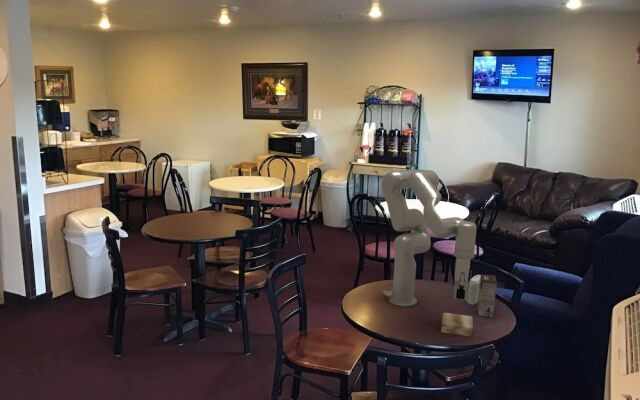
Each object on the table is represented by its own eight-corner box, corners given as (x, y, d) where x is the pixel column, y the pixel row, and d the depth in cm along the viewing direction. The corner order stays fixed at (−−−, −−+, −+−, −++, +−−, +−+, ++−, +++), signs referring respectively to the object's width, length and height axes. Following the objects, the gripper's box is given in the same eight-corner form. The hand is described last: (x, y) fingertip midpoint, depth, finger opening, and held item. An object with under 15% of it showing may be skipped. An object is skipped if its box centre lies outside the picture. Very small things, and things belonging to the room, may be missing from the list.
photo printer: (474, 305, 251) (477, 279, 249) (465, 303, 254) (468, 277, 252) (483, 299, 259) (486, 274, 257) (475, 297, 262) (477, 272, 259)
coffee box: (476, 307, 249) (480, 273, 246) (491, 309, 248) (495, 275, 245) (478, 315, 240) (481, 280, 237) (493, 317, 239) (497, 282, 236)
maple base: (440, 333, 223) (441, 323, 222) (441, 321, 234) (442, 312, 233) (471, 337, 220) (472, 328, 219) (471, 325, 231) (472, 316, 231)
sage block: (453, 298, 222) (455, 284, 221) (453, 294, 227) (455, 280, 226) (466, 300, 221) (468, 286, 220) (466, 296, 226) (467, 282, 225)
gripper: (454, 246, 229) (451, 288, 233) (454, 257, 213) (450, 302, 217) (473, 248, 228) (469, 290, 231) (474, 259, 211) (470, 305, 215)
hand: (460, 295), depth 224 cm, fingers closed on sage block, 5 cm apart
